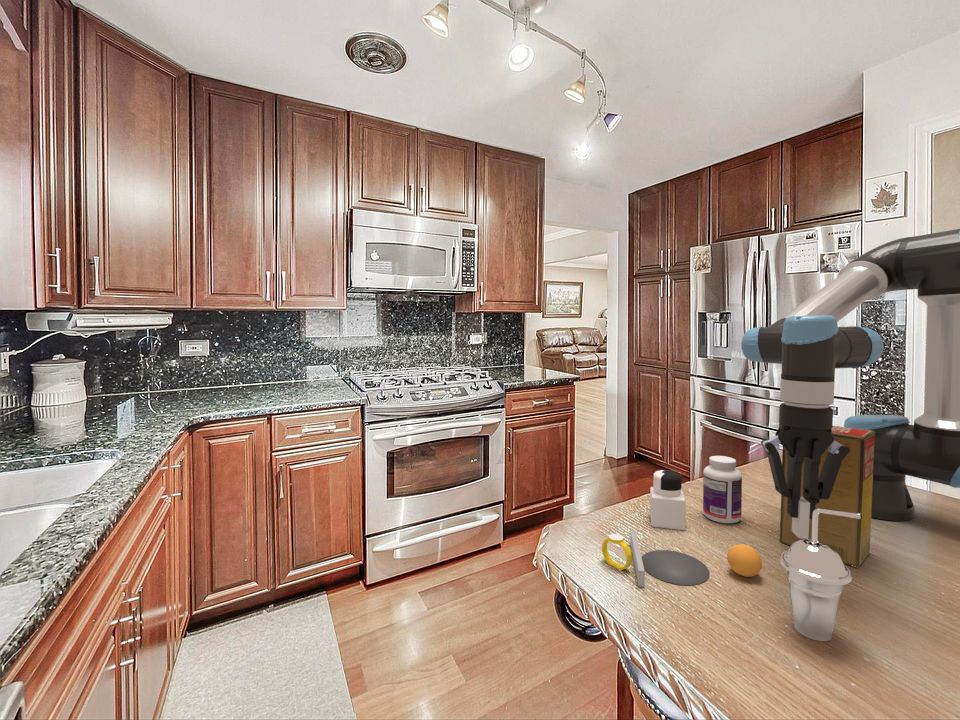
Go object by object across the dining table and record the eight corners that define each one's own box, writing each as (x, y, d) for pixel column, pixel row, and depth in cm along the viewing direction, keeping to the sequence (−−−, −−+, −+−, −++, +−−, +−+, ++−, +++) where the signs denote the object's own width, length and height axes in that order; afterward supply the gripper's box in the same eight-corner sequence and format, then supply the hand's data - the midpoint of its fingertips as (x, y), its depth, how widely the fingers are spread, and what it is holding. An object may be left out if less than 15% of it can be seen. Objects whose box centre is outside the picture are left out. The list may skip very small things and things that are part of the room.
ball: (755, 567, 82) (755, 540, 82) (766, 584, 77) (767, 554, 76) (723, 564, 83) (723, 537, 83) (732, 581, 78) (732, 551, 78)
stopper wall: (635, 543, 92) (635, 529, 92) (644, 587, 77) (644, 571, 77) (630, 543, 93) (630, 529, 92) (638, 586, 77) (638, 570, 77)
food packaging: (871, 552, 87) (877, 429, 85) (859, 569, 81) (865, 438, 79) (793, 529, 97) (796, 419, 95) (777, 542, 92) (780, 426, 90)
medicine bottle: (681, 517, 104) (682, 469, 103) (685, 531, 97) (686, 479, 96) (650, 514, 106) (650, 466, 106) (651, 527, 100) (651, 476, 99)
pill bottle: (731, 511, 107) (732, 454, 106) (748, 525, 99) (749, 464, 98) (697, 510, 108) (698, 453, 107) (711, 525, 100) (712, 464, 99)
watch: (600, 564, 85) (598, 534, 85) (608, 559, 87) (606, 529, 87) (626, 575, 81) (624, 543, 80) (635, 569, 82) (633, 538, 82)
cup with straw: (812, 609, 70) (817, 489, 68) (869, 650, 61) (875, 513, 59) (764, 615, 69) (768, 492, 67) (815, 657, 60) (820, 518, 58)
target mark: (700, 554, 87) (700, 553, 87) (717, 589, 76) (717, 588, 76) (637, 548, 90) (637, 547, 90) (644, 581, 79) (644, 580, 79)
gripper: (837, 401, 78) (831, 529, 79) (755, 399, 81) (751, 522, 82) (863, 409, 70) (855, 549, 72) (772, 406, 73) (767, 540, 75)
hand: (799, 534), depth 77 cm, fingers closed
